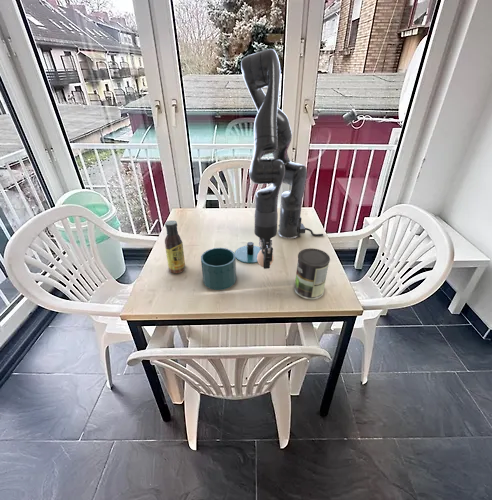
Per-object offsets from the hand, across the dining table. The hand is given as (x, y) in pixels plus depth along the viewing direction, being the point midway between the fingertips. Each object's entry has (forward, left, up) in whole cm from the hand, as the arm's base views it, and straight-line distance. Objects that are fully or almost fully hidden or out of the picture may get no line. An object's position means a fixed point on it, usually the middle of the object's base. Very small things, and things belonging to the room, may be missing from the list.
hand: (265, 262), depth 102 cm
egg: (0, 0, -2) cm, 2 cm away
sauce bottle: (+33, -9, -7) cm, 34 cm away
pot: (+17, 0, -7) cm, 18 cm away
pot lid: (+4, -15, -6) cm, 17 cm away
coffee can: (-14, +9, -7) cm, 18 cm away
